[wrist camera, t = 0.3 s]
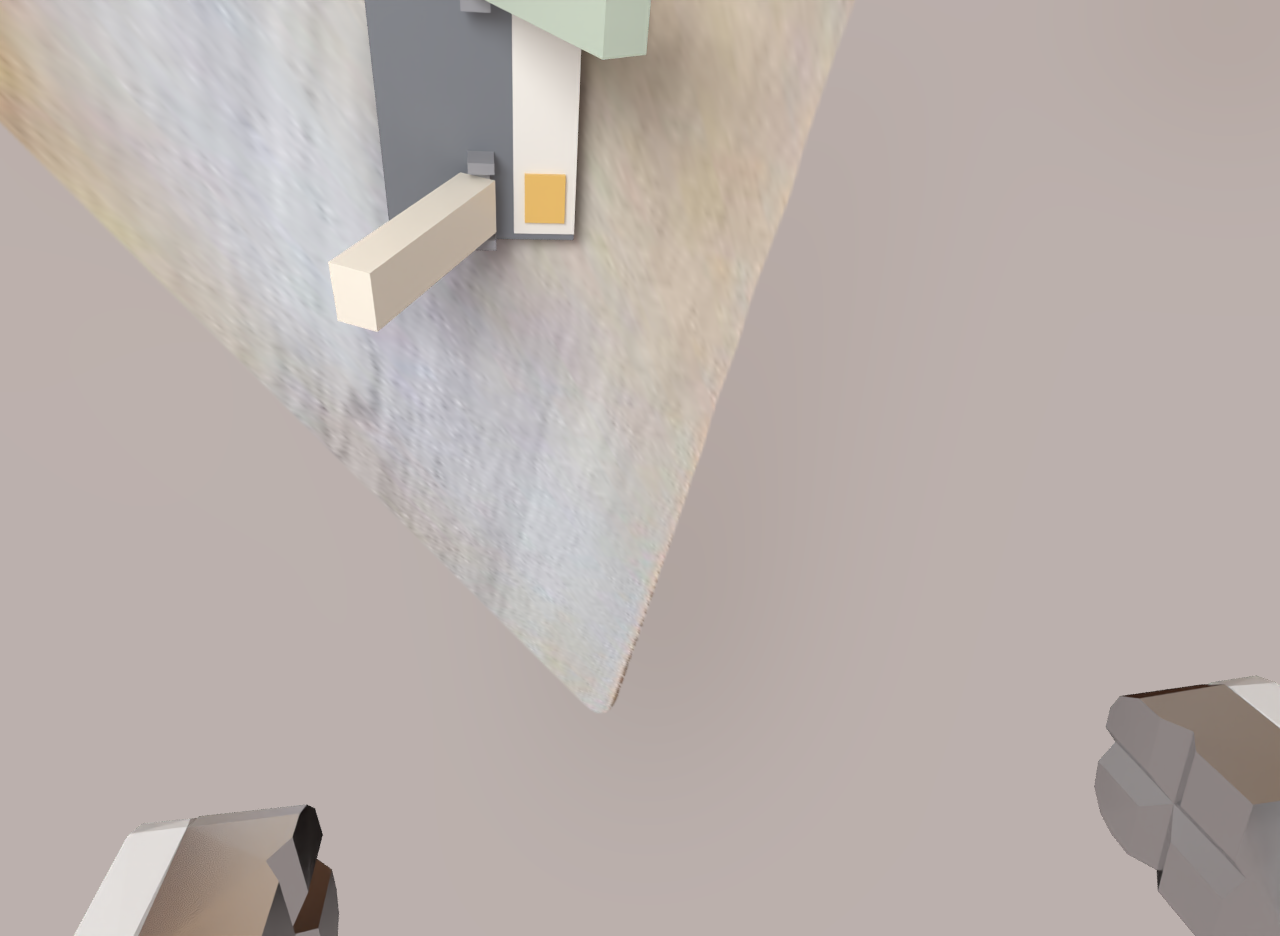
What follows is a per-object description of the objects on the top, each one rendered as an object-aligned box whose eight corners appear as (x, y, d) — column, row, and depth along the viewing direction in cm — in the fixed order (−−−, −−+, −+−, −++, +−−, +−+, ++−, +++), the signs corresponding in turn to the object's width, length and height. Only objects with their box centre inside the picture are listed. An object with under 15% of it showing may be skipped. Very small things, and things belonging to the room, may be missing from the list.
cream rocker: (470, 220, 56) (338, 323, 45) (468, 164, 53) (327, 259, 43) (503, 228, 55) (377, 334, 45) (502, 172, 53) (369, 270, 42)
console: (392, 226, 57) (388, 251, 54) (353, -138, 44) (345, -129, 41) (571, 230, 59) (575, 253, 56) (584, -118, 46) (591, -108, 43)
